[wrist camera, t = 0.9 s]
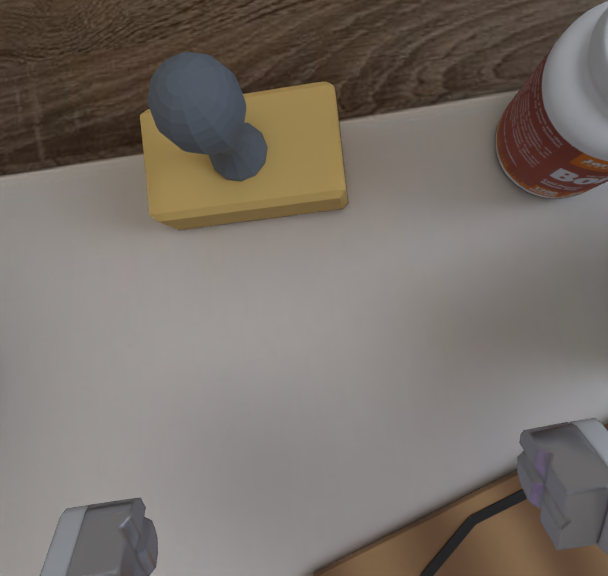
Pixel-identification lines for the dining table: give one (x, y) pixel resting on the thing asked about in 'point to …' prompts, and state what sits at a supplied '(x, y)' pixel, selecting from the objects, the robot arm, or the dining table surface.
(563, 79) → the pill bottle
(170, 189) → the rubber stamp
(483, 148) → the dining table surface
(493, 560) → the wooden board
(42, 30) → the dining table surface
